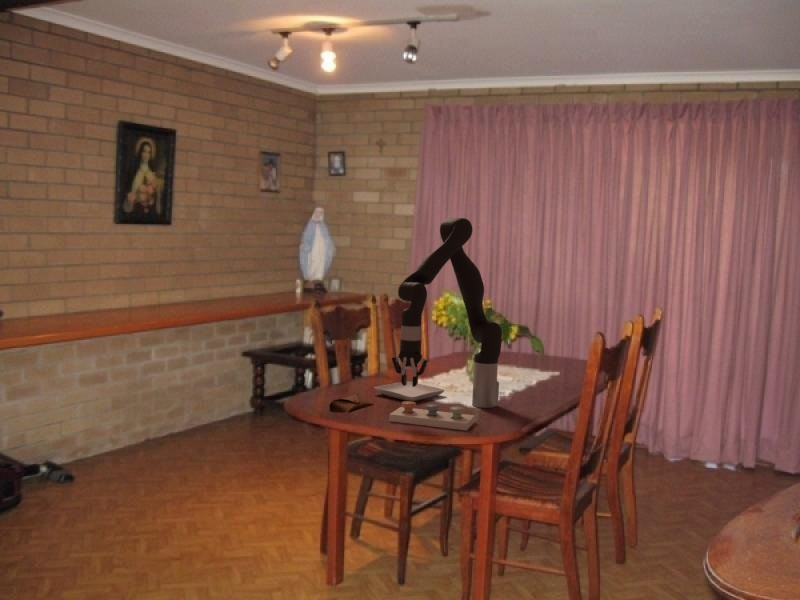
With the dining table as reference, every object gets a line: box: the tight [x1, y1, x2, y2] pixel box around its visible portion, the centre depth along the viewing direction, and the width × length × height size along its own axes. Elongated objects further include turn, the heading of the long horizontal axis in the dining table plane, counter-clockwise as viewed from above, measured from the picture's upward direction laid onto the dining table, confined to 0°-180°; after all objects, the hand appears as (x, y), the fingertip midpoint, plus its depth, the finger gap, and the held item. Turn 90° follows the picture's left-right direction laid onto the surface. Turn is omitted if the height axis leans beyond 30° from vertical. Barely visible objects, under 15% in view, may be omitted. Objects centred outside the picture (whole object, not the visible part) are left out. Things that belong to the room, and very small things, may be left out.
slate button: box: [424, 403, 441, 417], centre depth 278 cm, size 5×5×4 cm
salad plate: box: [373, 381, 446, 402], centre depth 319 cm, size 21×21×3 cm
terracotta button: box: [400, 400, 417, 414], centre depth 281 cm, size 5×5×4 cm
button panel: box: [388, 406, 476, 431], centre depth 279 cm, size 28×12×2 cm, turn 71°
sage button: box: [449, 406, 466, 420], centre depth 275 cm, size 5×5×4 cm
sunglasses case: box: [329, 393, 374, 414], centre depth 297 cm, size 18×7×7 cm
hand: (409, 385), depth 280 cm, fingers open, 3 cm apart
